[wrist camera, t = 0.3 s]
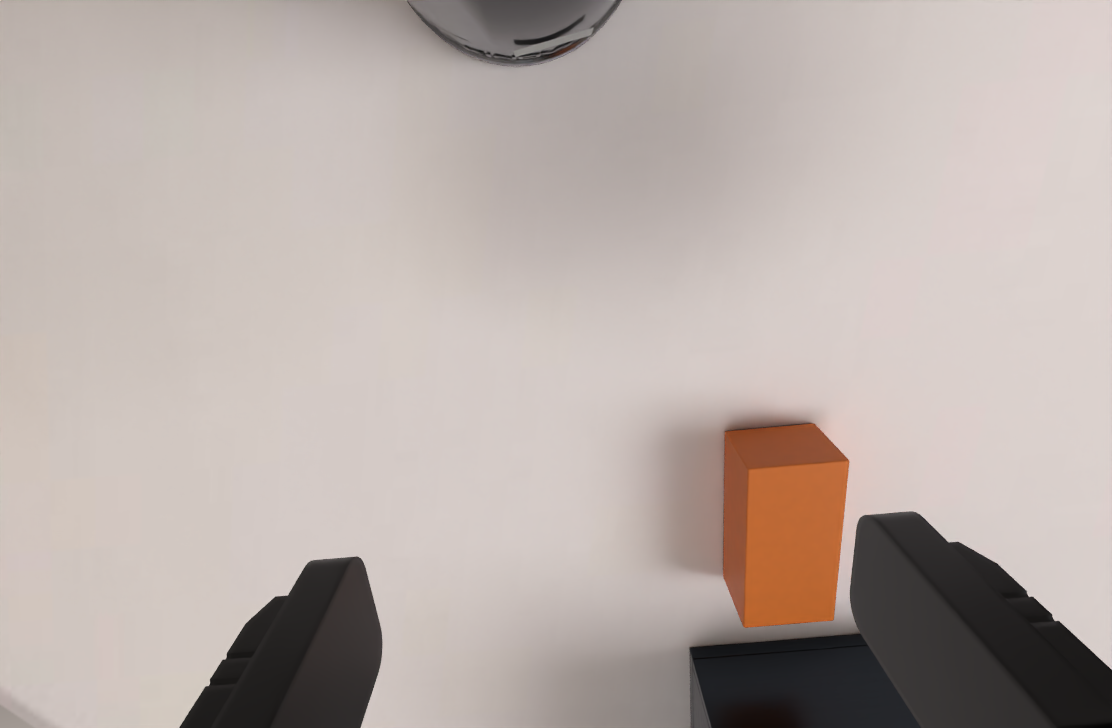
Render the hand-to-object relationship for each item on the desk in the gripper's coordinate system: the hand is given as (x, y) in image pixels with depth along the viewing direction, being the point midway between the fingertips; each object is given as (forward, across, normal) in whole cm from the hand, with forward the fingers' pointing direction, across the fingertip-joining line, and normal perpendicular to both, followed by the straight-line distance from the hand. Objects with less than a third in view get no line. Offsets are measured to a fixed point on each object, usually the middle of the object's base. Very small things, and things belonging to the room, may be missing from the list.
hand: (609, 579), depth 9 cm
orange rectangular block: (+18, -9, +12) cm, 23 cm away
